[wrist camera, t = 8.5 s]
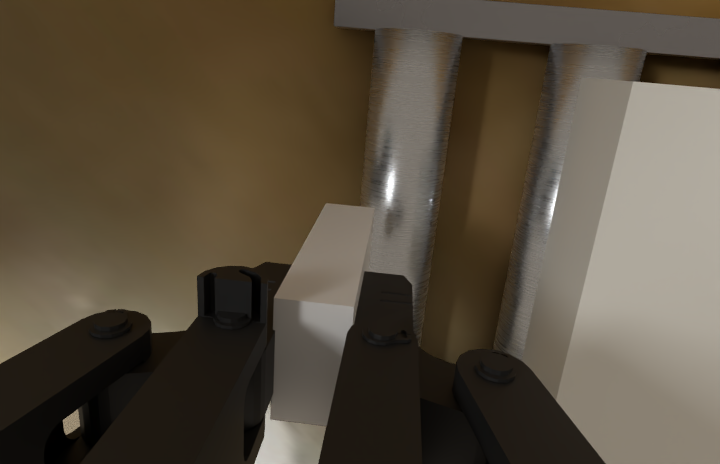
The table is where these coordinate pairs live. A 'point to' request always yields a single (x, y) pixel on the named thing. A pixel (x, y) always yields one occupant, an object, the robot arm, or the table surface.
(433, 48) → the roller bed
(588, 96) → the slab
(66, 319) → the table surface
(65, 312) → the table surface
